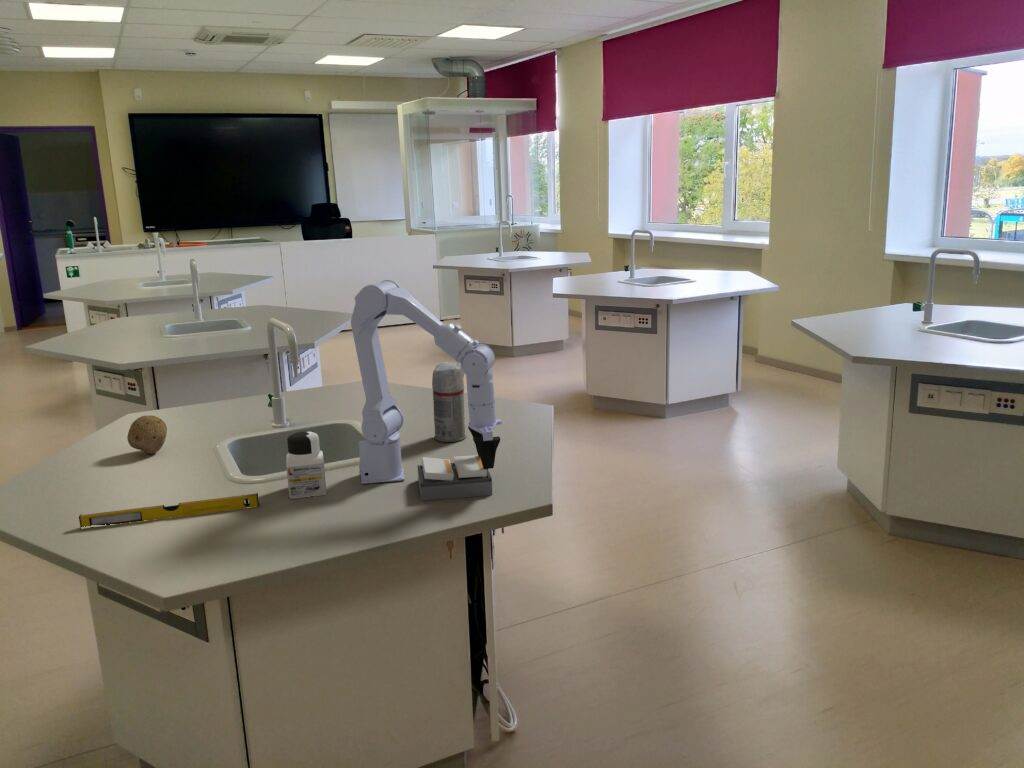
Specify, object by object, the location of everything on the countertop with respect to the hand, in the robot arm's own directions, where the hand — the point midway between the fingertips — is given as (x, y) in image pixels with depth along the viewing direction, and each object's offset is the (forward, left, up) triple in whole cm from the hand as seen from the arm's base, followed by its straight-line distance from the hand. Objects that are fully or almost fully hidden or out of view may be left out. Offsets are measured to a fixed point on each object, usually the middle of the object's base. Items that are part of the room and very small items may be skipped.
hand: (485, 462), depth 172 cm
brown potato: (-80, +39, -5) cm, 89 cm away
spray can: (-5, +34, -5) cm, 35 cm away
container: (-39, +5, -5) cm, 39 cm away
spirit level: (-65, -3, -6) cm, 65 cm away
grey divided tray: (-7, 0, -5) cm, 9 cm away
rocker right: (-3, 0, -1) cm, 4 cm away
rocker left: (-11, 0, -1) cm, 11 cm away
